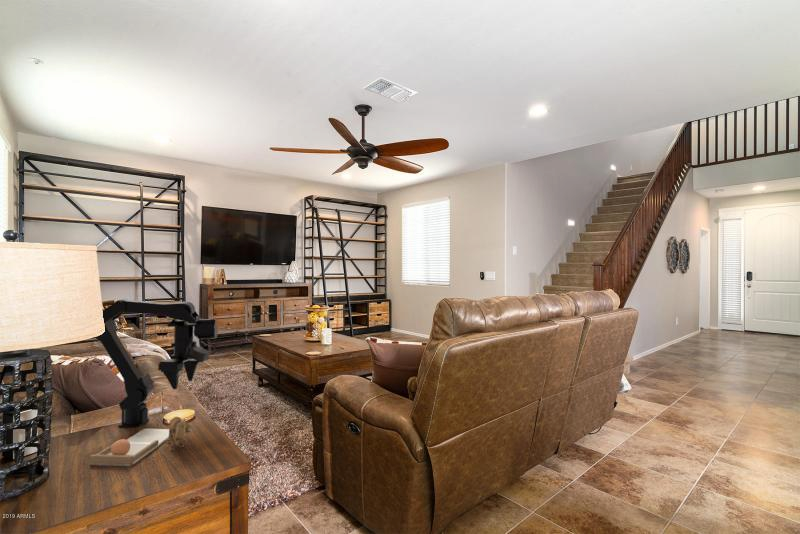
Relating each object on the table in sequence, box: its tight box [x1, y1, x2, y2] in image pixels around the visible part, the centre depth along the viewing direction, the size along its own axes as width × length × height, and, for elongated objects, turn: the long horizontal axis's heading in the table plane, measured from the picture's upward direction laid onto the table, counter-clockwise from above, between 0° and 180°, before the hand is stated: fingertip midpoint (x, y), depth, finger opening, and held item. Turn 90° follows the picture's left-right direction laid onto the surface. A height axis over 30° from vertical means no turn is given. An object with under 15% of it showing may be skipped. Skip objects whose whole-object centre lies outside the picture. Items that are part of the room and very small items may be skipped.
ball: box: [111, 438, 130, 455], centre depth 109 cm, size 4×4×4 cm
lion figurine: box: [166, 416, 194, 452], centre depth 118 cm, size 15×5×9 cm, turn 44°
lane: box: [89, 428, 169, 467], centre depth 116 cm, size 11×22×2 cm, turn 179°
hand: (182, 384), depth 136 cm, fingers open, 9 cm apart
